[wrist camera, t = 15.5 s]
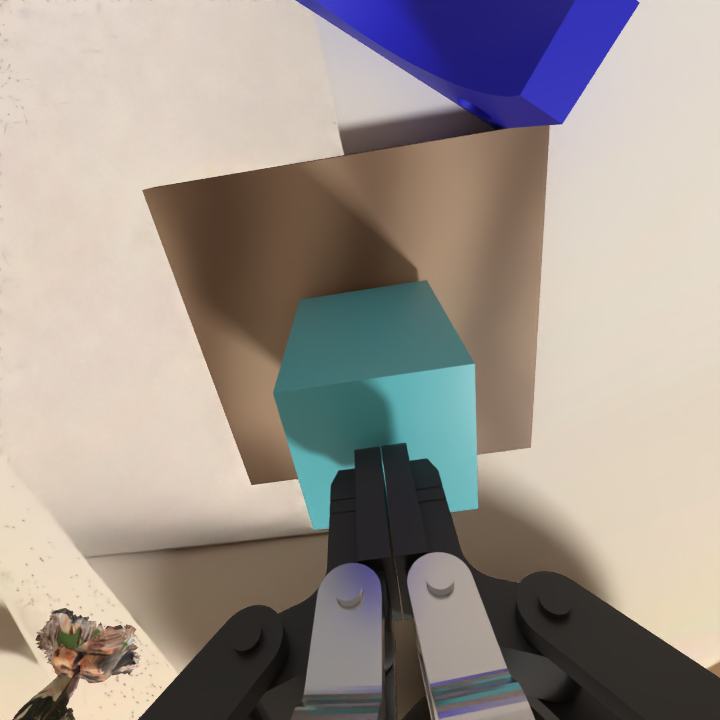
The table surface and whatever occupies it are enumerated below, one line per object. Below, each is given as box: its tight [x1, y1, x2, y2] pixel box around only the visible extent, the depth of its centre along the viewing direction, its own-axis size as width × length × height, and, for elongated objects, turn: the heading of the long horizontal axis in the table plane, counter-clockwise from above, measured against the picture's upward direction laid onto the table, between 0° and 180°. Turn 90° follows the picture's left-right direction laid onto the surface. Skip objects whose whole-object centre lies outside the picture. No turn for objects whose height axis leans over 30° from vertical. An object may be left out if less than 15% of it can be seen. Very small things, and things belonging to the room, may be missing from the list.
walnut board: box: [142, 125, 550, 485], centre depth 20 cm, size 16×16×1 cm
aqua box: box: [273, 280, 478, 530], centre depth 16 cm, size 6×6×8 cm
